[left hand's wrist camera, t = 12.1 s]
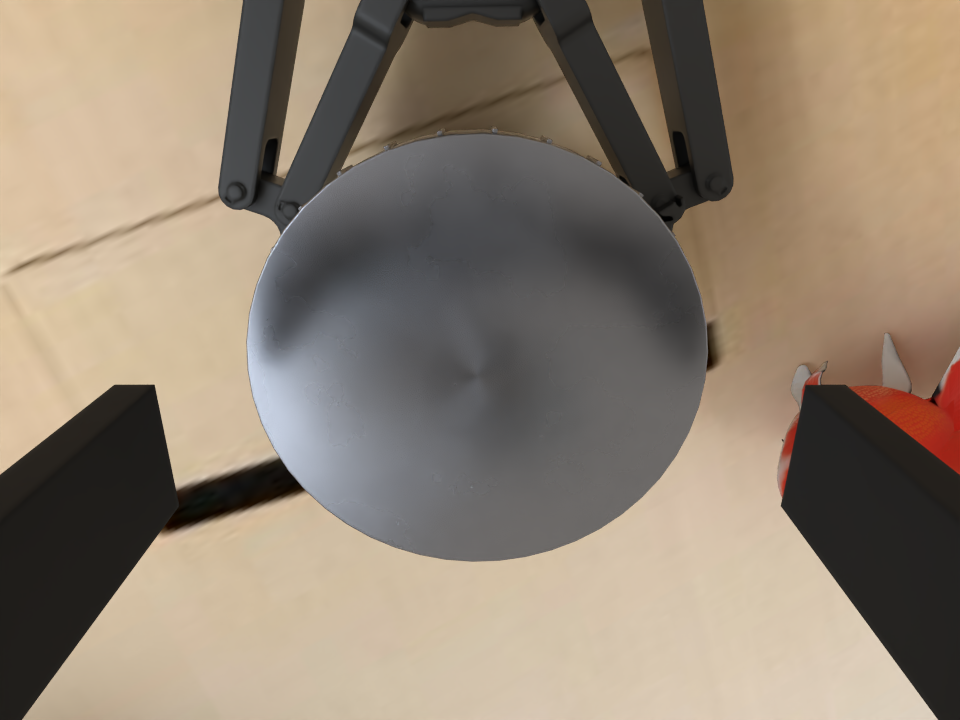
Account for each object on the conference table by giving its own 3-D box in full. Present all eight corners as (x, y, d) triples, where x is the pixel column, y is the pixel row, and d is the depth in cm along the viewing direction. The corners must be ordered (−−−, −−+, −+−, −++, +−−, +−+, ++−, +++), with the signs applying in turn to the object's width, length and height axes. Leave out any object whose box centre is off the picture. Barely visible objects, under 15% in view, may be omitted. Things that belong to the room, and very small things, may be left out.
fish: (733, 297, 27) (980, 452, 20) (976, 186, 32) (1243, 280, 25) (699, 468, 34) (873, 628, 27) (903, 356, 39) (1095, 467, 32)
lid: (313, 62, 16) (289, 57, 14) (756, 202, 17) (793, 216, 15) (239, 466, 20) (212, 508, 18) (600, 555, 21) (612, 602, 19)
